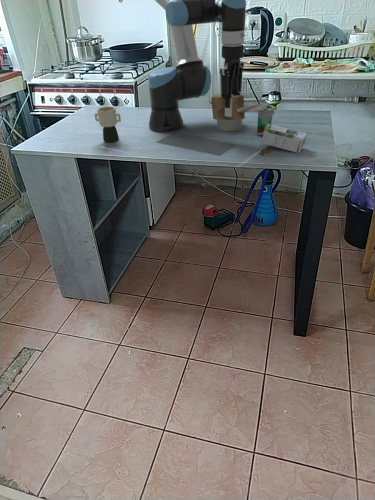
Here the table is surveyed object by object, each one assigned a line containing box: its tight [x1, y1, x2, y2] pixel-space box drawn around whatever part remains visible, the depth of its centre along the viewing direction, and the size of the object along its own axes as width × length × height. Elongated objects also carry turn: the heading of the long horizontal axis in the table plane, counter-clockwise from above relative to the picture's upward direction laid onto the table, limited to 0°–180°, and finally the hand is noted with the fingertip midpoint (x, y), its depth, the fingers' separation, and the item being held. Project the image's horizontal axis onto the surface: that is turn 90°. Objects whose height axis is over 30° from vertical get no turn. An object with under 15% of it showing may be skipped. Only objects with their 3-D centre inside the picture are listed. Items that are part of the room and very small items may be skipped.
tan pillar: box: [210, 94, 268, 121], centre depth 140 cm, size 20×8×8 cm, turn 55°
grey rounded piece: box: [216, 119, 243, 132], centre depth 162 cm, size 10×13×9 cm
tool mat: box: [155, 131, 238, 156], centre depth 149 cm, size 30×13×1 cm, turn 55°
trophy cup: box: [93, 105, 122, 143], centre depth 153 cm, size 11×7×13 cm, turn 77°
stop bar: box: [259, 145, 275, 156], centre depth 140 cm, size 1×12×2 cm, turn 144°
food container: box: [256, 104, 275, 137], centre depth 153 cm, size 12×6×10 cm, turn 168°
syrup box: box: [261, 124, 307, 154], centre depth 139 cm, size 6×6×14 cm
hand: (230, 114), depth 143 cm, fingers closed on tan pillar, 3 cm apart
